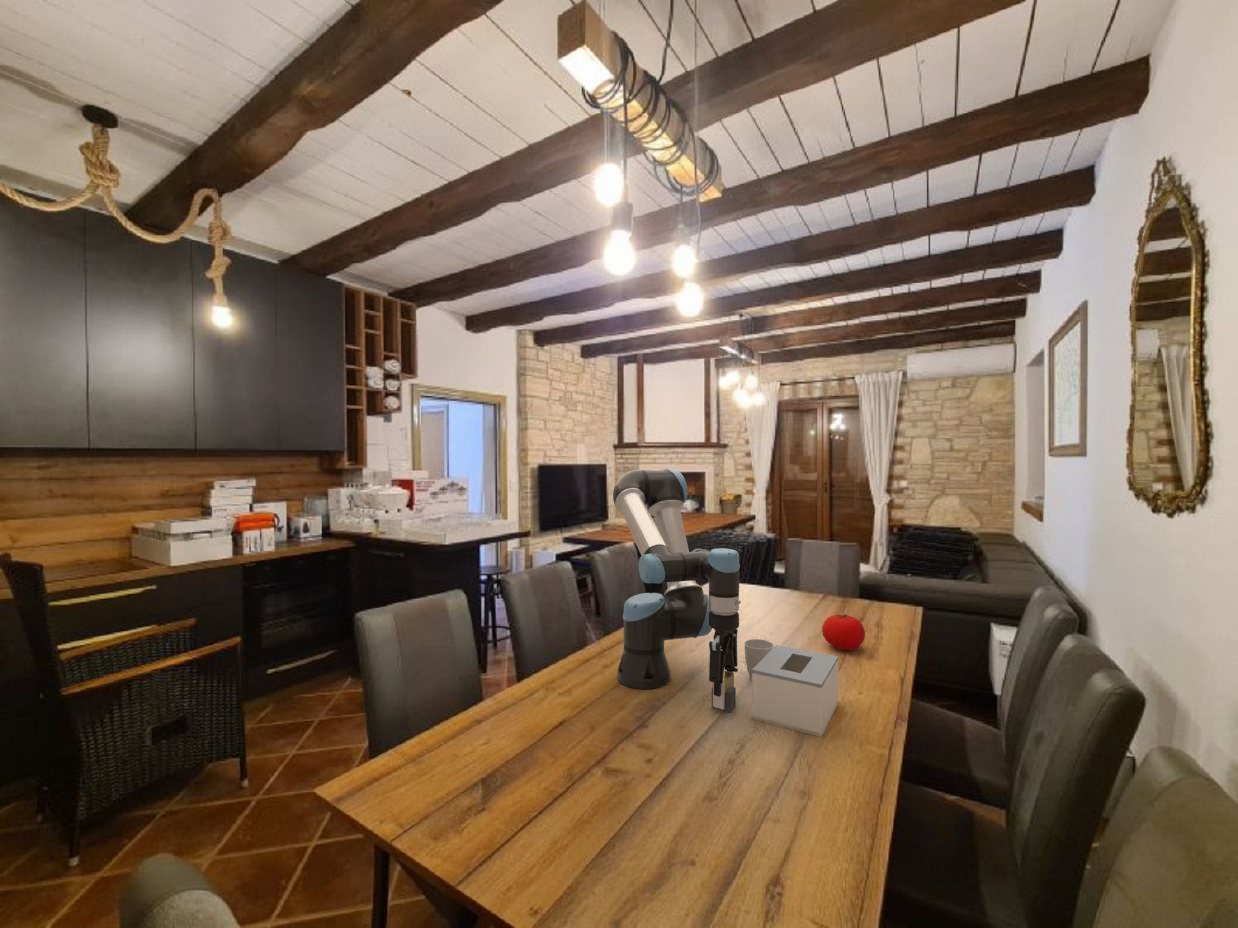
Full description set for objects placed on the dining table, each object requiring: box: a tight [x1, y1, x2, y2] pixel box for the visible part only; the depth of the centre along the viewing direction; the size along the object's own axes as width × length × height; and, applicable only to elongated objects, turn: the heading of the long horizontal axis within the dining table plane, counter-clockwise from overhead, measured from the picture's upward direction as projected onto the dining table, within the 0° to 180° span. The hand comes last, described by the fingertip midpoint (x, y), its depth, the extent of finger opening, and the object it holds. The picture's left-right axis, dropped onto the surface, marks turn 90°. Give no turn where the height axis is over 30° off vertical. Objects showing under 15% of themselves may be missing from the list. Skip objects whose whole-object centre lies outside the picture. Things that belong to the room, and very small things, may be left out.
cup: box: [743, 638, 775, 681], centre depth 154 cm, size 8×8×10 cm
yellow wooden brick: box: [723, 670, 735, 694], centre depth 137 cm, size 3×6×3 cm, turn 148°
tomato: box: [821, 614, 866, 651], centre depth 179 cm, size 12×13×11 cm
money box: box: [751, 644, 839, 738], centre depth 135 cm, size 16×20×12 cm
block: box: [711, 686, 737, 713], centre depth 137 cm, size 5×4×5 cm
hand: (723, 701), depth 137 cm, fingers closed on yellow wooden brick, 6 cm apart
